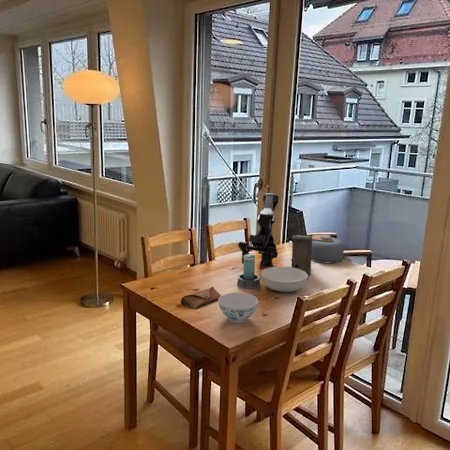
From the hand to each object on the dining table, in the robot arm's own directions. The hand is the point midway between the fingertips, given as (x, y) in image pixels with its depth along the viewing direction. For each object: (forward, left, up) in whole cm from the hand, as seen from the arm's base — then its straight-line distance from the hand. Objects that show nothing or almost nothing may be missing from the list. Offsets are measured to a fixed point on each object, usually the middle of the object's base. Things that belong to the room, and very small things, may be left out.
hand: (251, 265), depth 208 cm
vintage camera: (-18, +25, -9) cm, 32 cm away
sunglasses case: (+22, -20, -9) cm, 31 cm away
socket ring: (+2, -1, -8) cm, 9 cm away
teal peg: (+2, -1, -8) cm, 8 cm away
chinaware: (+38, -6, -9) cm, 40 cm away
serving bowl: (+6, +15, -9) cm, 18 cm away
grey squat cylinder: (-40, +41, -9) cm, 58 cm away
